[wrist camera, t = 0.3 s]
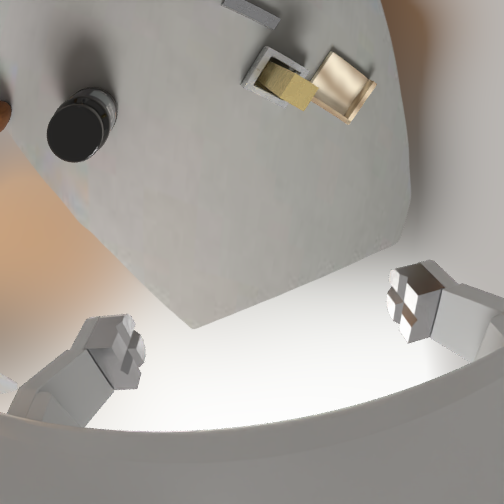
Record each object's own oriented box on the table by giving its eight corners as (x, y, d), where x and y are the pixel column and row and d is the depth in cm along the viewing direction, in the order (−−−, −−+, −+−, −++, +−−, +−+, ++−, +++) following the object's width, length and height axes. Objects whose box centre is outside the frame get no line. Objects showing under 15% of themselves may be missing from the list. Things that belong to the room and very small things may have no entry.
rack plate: (330, 51, 46) (338, 53, 44) (368, 80, 52) (377, 84, 50) (301, 94, 52) (307, 98, 50) (341, 119, 58) (348, 125, 55)
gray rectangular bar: (220, 5, 38) (222, 4, 36) (228, -6, 36) (229, -7, 35) (270, 29, 42) (273, 29, 41) (277, 19, 41) (281, 19, 40)
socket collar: (264, 45, 44) (269, 47, 42) (303, 68, 48) (309, 70, 46) (240, 84, 49) (243, 88, 47) (280, 104, 53) (285, 108, 51)
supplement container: (57, 121, 44) (33, 145, 35) (86, 75, 40) (64, 89, 32) (98, 147, 50) (83, 177, 42) (130, 105, 46) (118, 126, 38)
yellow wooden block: (268, 60, 46) (295, 73, 37) (288, 71, 49) (319, 88, 39) (256, 80, 49) (279, 97, 39) (276, 90, 51) (303, 111, 41)
